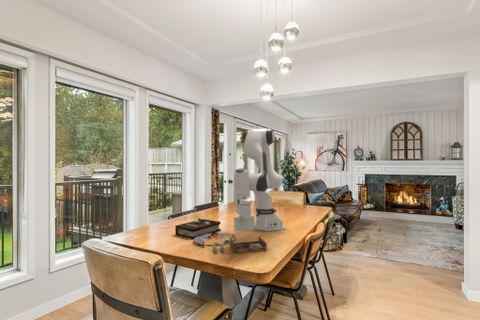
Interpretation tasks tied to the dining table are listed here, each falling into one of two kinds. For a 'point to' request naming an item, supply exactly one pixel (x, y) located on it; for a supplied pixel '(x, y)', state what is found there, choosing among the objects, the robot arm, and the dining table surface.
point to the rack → (244, 246)
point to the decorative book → (197, 228)
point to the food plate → (215, 237)
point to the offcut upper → (255, 245)
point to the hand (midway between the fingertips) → (242, 224)
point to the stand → (216, 248)
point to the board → (248, 224)
